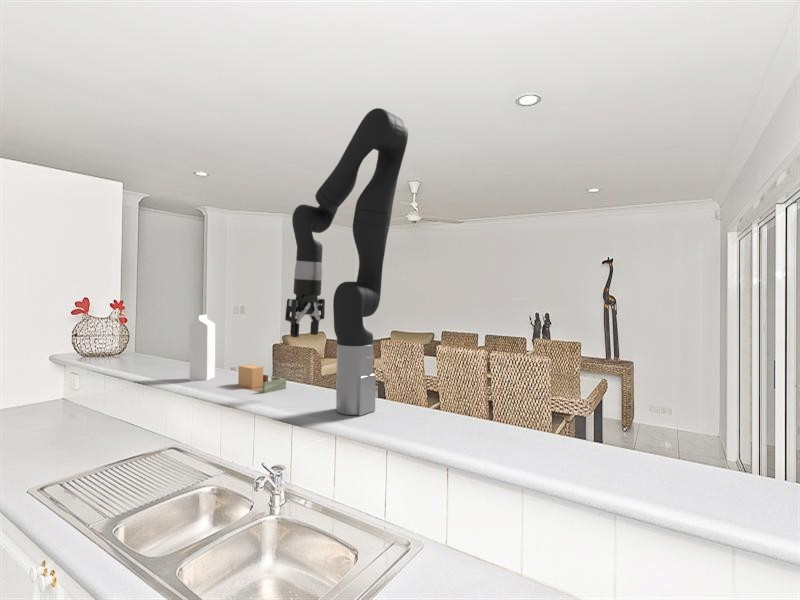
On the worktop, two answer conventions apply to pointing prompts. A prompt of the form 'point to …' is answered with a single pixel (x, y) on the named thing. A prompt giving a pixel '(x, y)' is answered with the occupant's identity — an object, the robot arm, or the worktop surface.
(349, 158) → the robot arm
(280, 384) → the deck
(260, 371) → the block
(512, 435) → the worktop surface
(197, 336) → the milk
